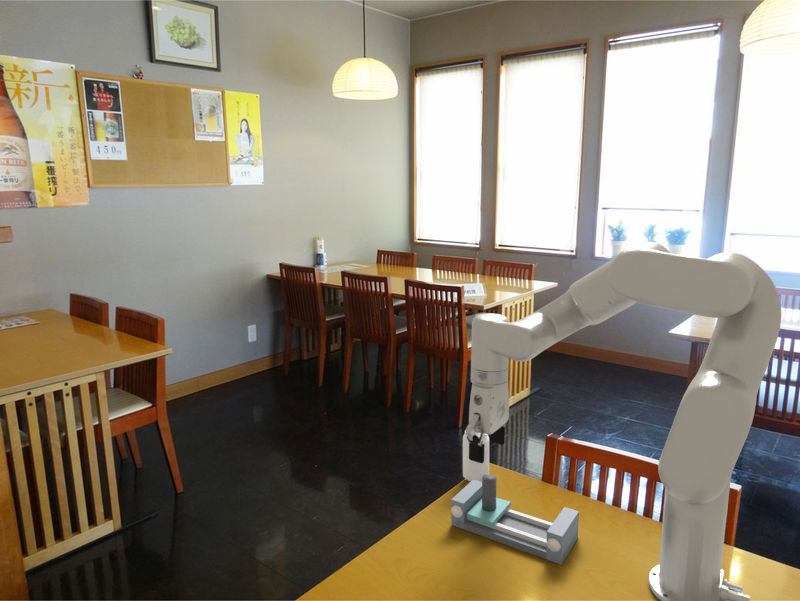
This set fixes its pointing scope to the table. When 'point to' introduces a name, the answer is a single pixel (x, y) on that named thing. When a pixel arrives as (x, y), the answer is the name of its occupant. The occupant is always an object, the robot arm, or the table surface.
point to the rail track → (519, 527)
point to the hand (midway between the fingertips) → (487, 451)
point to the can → (471, 467)
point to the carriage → (488, 503)
